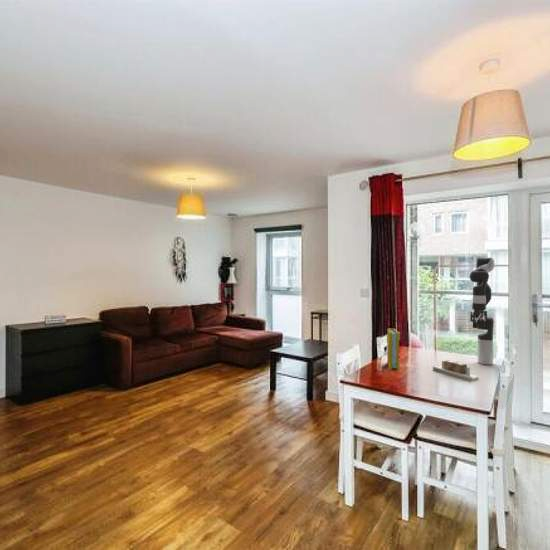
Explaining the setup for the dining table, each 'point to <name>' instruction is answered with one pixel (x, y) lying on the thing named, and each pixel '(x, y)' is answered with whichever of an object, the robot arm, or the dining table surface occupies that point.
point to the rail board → (463, 376)
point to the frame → (455, 366)
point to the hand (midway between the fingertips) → (478, 327)
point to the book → (393, 348)
